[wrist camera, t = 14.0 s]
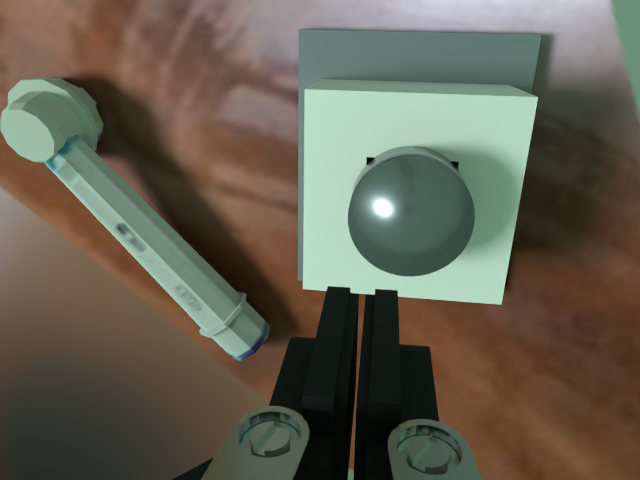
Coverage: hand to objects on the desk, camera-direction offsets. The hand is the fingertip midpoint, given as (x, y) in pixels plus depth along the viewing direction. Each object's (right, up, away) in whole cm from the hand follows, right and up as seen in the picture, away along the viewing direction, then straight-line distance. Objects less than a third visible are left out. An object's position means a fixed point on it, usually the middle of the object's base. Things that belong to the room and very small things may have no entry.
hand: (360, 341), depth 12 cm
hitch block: (+5, +8, +24) cm, 25 cm away
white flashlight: (-14, +4, +28) cm, 32 cm away
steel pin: (+5, +7, +22) cm, 23 cm away
